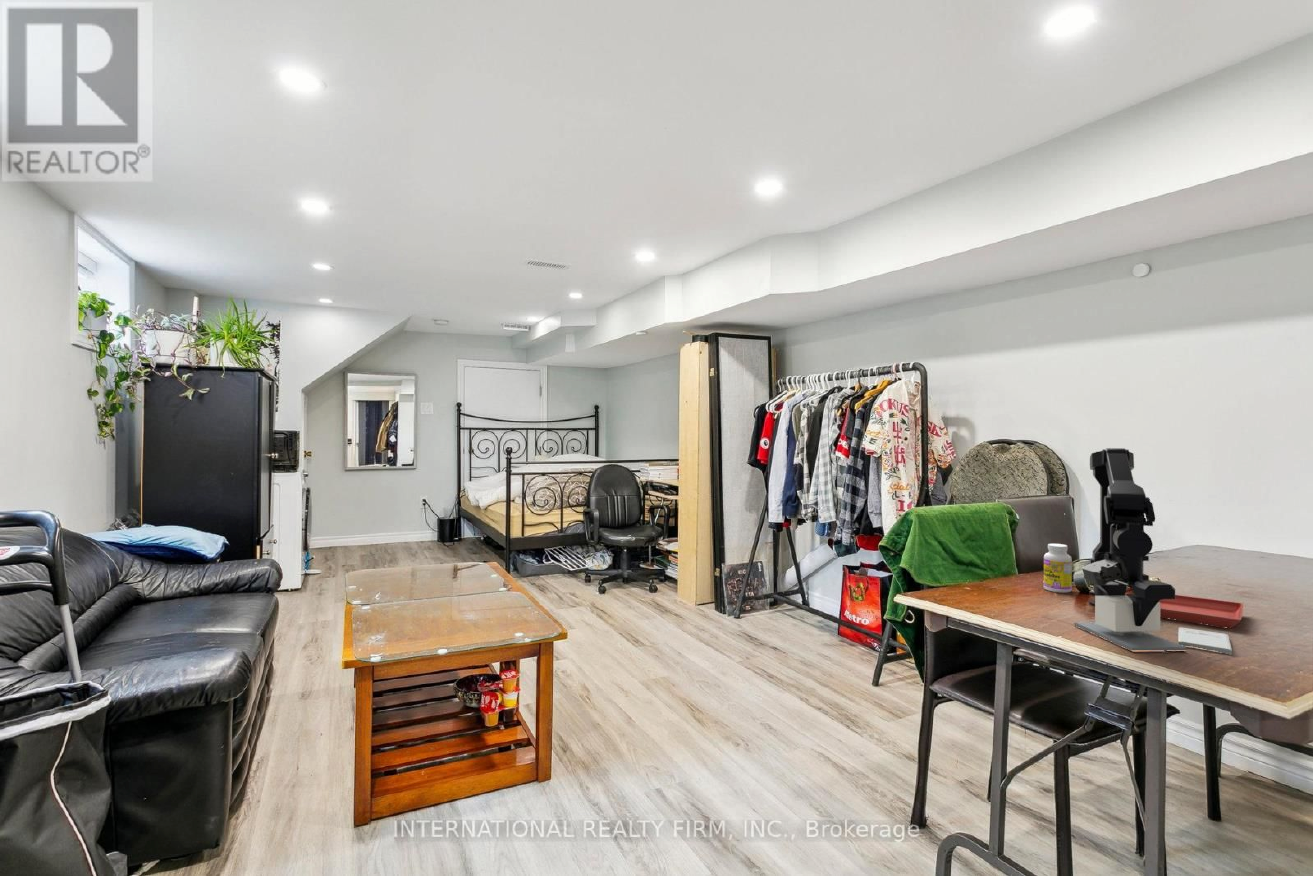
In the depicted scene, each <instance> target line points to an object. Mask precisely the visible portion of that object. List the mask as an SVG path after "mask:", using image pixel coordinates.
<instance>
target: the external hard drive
mask: <svg viewBox="0 0 1313 876" xmlns="http://www.w3.org/2000/svg"><path fill="white" fill-rule="evenodd" d="M1177 632H1178V635H1177V640H1178V642H1177V644H1180V645H1183V646H1193V647H1198V648H1203V649H1207V650H1215V651H1218V652H1222V653H1227V654H1231V655H1230V656H1233V650H1232V645H1231V641H1230V638H1229V635H1228V634H1226V633H1222V632H1221V633H1220V632H1215V631H1214V632H1213V631H1208V630H1200V629H1195V628H1187V627H1178V631H1177ZM1227 654H1226V655H1227Z"/></svg>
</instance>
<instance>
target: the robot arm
mask: <svg viewBox="0 0 1313 876" xmlns="http://www.w3.org/2000/svg"><path fill="white" fill-rule="evenodd" d="M1134 455H1135V453H1134V452H1131V451H1130V449H1127V448H1125V447H1124V448H1123V447H1122V448H1115V447H1114V448H1113V447H1112V448H1111V447H1109V448H1108V447H1107V448H1105V449H1102V450H1101V451H1100V450H1099V451H1094V452H1092V453H1091V454H1090V456H1089V470H1091V471H1092V476H1093V477H1094V478H1095V481H1096V482H1097V483H1098V484H1099V487H1100V488H1099V491H1100V492H1099V495H1100V497H1099V498H1100V499H1099V502H1100V504H1099V506H1100V507H1099V510H1100V511H1099V536H1100V537H1099V543H1098V544H1097V545H1096V546H1095V548H1094V549H1093V550H1092V558H1089V560H1088V562H1089V563H1088V564H1087V565H1086V564H1085V565H1084V566H1082V567H1081V570H1082V572H1083V578H1084V579H1085V580H1086V582H1087V583H1091V584H1093V589H1094V590H1093V591H1094V593H1093V594H1094V595H1093V598H1094V600H1092V601H1091V600H1088V604H1090V605H1092V606H1095V596H1128V597H1129V598H1130V599H1131V600H1132V602H1133V613H1134V621H1135V625H1136V626H1142V624H1143V623H1144V621H1145V620H1146V618H1147V617H1148V615H1149V614H1150V612H1151V611H1152V609H1153V608H1154V607H1155V606H1156V604H1157V603H1158V602H1159V601H1160V600H1164V599H1175V595H1176V588H1174V586H1173V585H1172V584H1169V583H1166V582H1162V581H1159V580H1149V579H1150V575H1149V574H1145V573H1144V562H1149V560H1150V559H1149V554H1150V552H1151V551H1152V549H1153V541H1152V538H1151V537H1150V535H1149V534H1148V533H1147V532H1145V530H1144V529H1145V526H1147V527H1149V526H1150V527H1153V526H1154V522H1155V521H1156V514H1155V510H1154V504H1153V503H1152V501H1151V499H1150V497H1149V496H1148V497H1147V495H1146V492H1145V491H1144V488H1143V487H1141V486H1140V485H1138V484H1136V483H1135V481H1134V480H1135V479H1134V477H1133V474H1132V471H1133V470H1135V457H1134ZM1127 588H1131V590H1132V593H1127Z"/></svg>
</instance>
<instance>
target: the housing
mask: <svg viewBox="0 0 1313 876" xmlns="http://www.w3.org/2000/svg"><path fill="white" fill-rule="evenodd" d="M1094 609H1095V610H1094V622H1095V623H1097V624H1099V625H1101V626H1104V627H1106V628H1108V629H1111V630H1113V631H1115V632H1126V631H1147V632H1161V618H1160V603H1159V602H1158V603H1157V604H1156V606H1155V607H1154V608H1153V609H1152V611H1151V612H1150V614H1149V615H1148V617H1147V618H1146V620H1145V621H1144V623H1143V624H1142V626H1136V625H1135V621H1134V613H1133V602H1132V600H1131V599H1130V598H1129V597H1128V596H1127V595H1125V596H1095V605H1094Z"/></svg>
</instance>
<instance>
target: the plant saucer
mask: <svg viewBox="0 0 1313 876" xmlns="http://www.w3.org/2000/svg"><path fill="white" fill-rule="evenodd" d="M1159 603H1160V617H1161V618H1160V619H1163V618H1170V619H1176V620H1181V621H1180V622H1182V621H1185V622H1184V623H1189V622H1191V623H1190V624H1195V623H1202V624H1208V625H1213V626H1212V627H1214V626H1217V627H1216V628H1220V627H1227V628H1231V629H1232V628H1234V627H1235V626H1236V625H1237V624H1239V623H1240V621H1241V620H1242V616H1243V611H1244V603H1241V602H1235V601H1227V600H1218V599H1211V598H1203V597H1196V596H1188V595H1180V594H1178V595H1177V594H1175V599H1164V600H1160V601H1159ZM1170 619H1169V620H1170ZM1176 620H1175V621H1176ZM1208 625H1207V626H1208ZM1227 628H1226V629H1227Z"/></svg>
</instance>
